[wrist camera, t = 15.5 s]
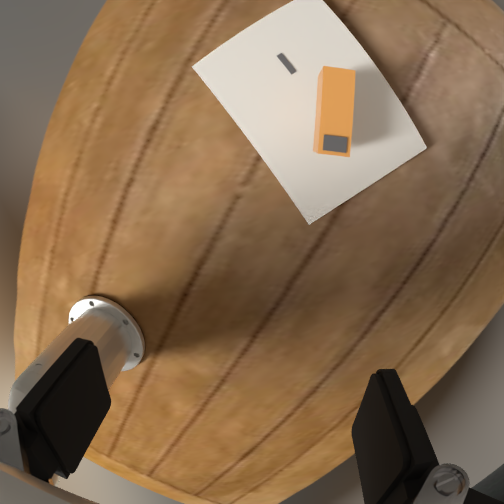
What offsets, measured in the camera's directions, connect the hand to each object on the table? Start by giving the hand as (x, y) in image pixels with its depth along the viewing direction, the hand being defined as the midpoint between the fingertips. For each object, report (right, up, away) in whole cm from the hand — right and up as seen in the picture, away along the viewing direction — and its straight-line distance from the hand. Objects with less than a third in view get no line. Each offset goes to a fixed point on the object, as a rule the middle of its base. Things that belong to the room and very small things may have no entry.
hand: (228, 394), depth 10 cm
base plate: (+7, +20, +20) cm, 29 cm away
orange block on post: (+8, +17, +17) cm, 25 cm away
